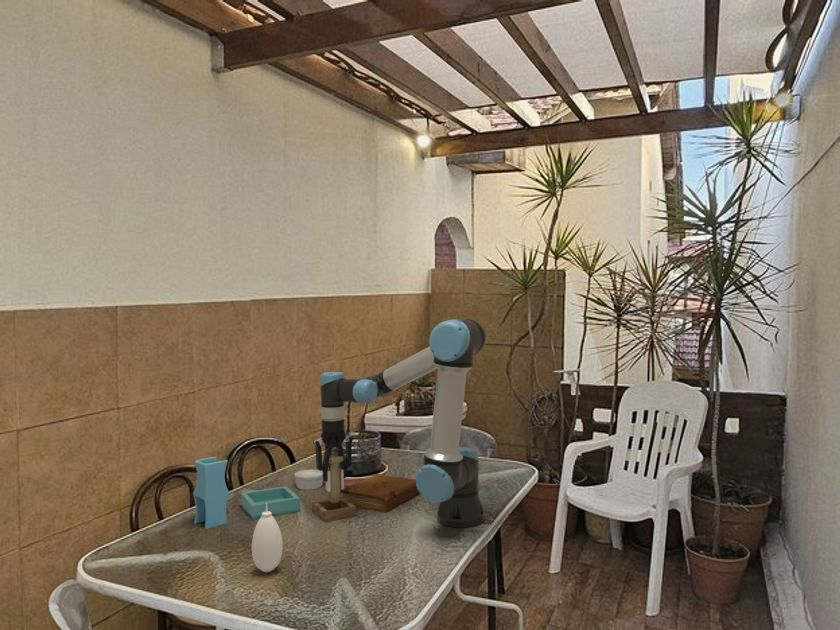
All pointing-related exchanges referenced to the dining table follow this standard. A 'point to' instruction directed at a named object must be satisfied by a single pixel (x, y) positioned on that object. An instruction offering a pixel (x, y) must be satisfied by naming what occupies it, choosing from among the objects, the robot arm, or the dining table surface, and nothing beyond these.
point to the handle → (335, 478)
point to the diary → (380, 492)
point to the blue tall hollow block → (211, 492)
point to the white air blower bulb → (267, 543)
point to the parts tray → (270, 502)
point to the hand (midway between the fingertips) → (334, 489)
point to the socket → (336, 514)
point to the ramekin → (309, 479)
